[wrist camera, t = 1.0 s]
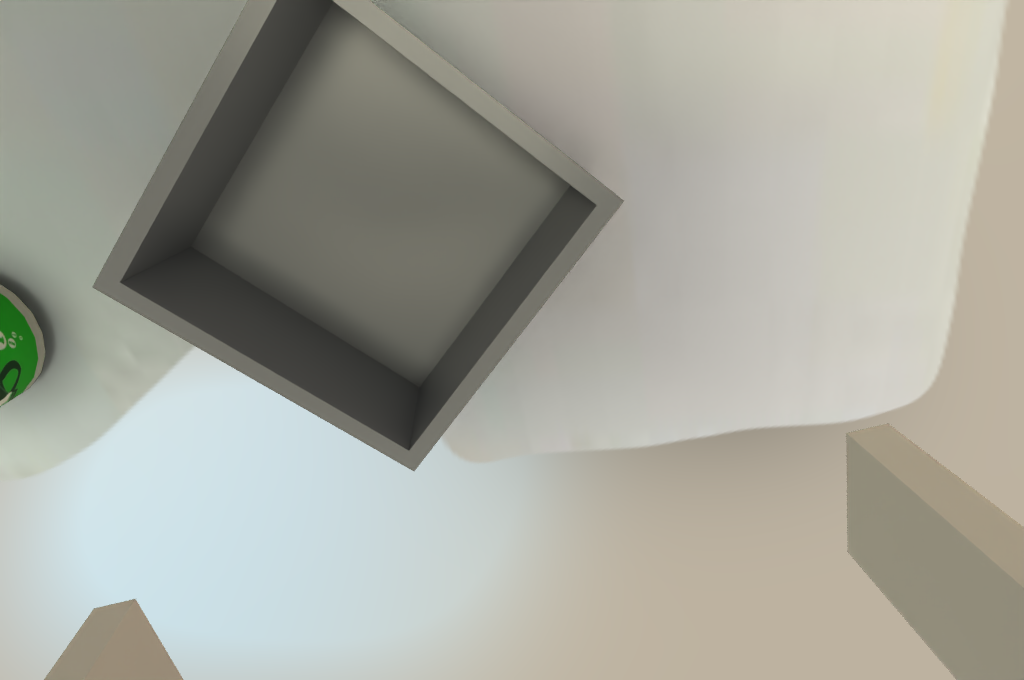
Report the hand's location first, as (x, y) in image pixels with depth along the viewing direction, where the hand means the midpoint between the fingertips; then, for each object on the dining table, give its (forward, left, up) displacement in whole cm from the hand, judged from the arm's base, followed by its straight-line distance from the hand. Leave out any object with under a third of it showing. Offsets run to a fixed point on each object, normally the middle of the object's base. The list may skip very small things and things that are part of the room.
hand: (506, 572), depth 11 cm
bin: (-6, -1, -24) cm, 25 cm away
